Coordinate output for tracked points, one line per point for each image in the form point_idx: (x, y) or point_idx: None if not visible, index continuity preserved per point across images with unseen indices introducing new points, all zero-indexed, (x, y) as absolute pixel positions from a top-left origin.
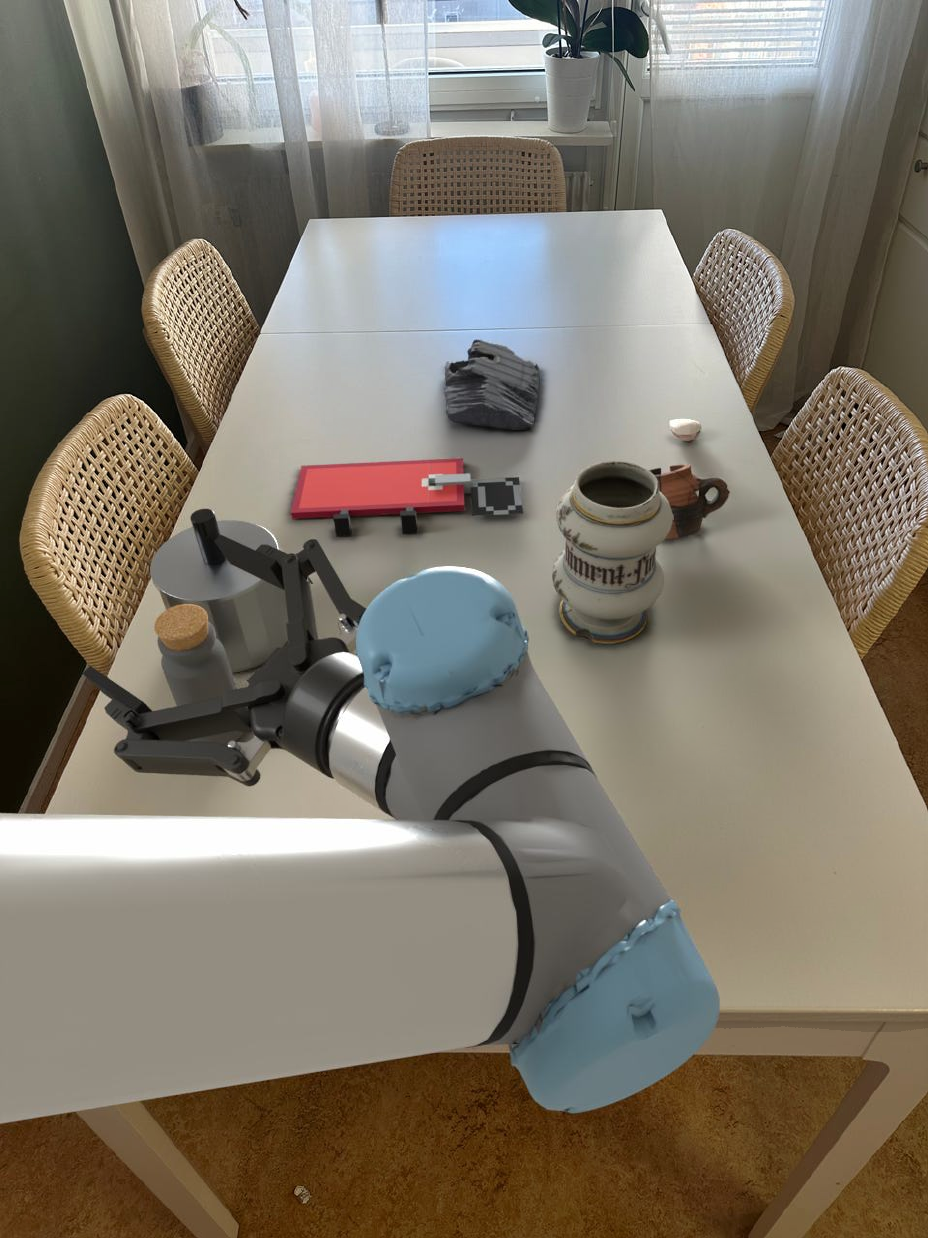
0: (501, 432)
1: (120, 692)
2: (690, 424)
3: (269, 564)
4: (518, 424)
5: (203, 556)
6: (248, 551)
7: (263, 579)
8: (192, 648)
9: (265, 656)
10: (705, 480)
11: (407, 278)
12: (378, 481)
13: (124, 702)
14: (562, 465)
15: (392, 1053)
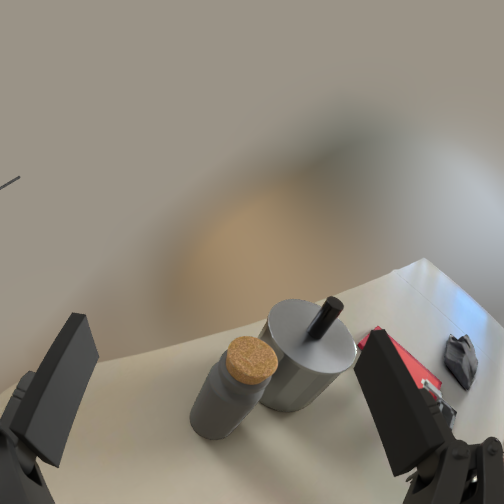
0: (456, 382)
1: (39, 384)
2: None
3: (431, 439)
4: (465, 384)
5: (310, 326)
6: (411, 387)
7: (380, 432)
8: (239, 381)
9: (280, 408)
10: None
11: (445, 294)
12: (405, 362)
13: (22, 400)
14: (470, 418)
15: None
